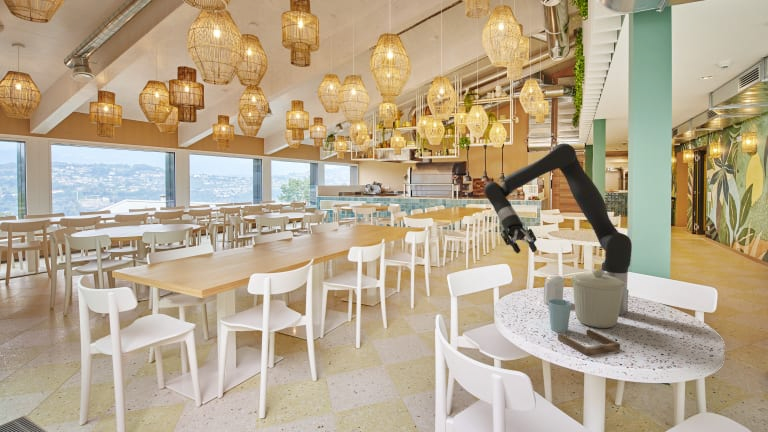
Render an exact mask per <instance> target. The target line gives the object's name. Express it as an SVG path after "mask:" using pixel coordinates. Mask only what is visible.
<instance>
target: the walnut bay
mask: <svg viewBox="0 0 768 432" xmlns="http://www.w3.org/2000/svg"><path fill="white" fill-rule="evenodd" d="M585 334H586V336H587V337H589V338H591V339H594V341H597V342H599V343H601V344H598V345H593V346H592V345H591V346H587V347H586V346H585V345H583V344H581V343H579V342H577V341H576V340H573V339H572V338H570V337H568V336H566V335H564V334H562V333H558V334H557V340H558V341H559V342H561V343H563V344H565V345H566V346H568V347H570V348H572V349H574V350H575V351H578V352H579V353H580V354H582V355H585V356H592V355H598V354H605V353H609V352H616V351H620V350H621V343H619V342H617V341H615V340H613V339H610V338H609V337H606V336H604V335H602V334H600V333H598V332H595V331H593V330H591V329H586V333H585Z"/></svg>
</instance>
